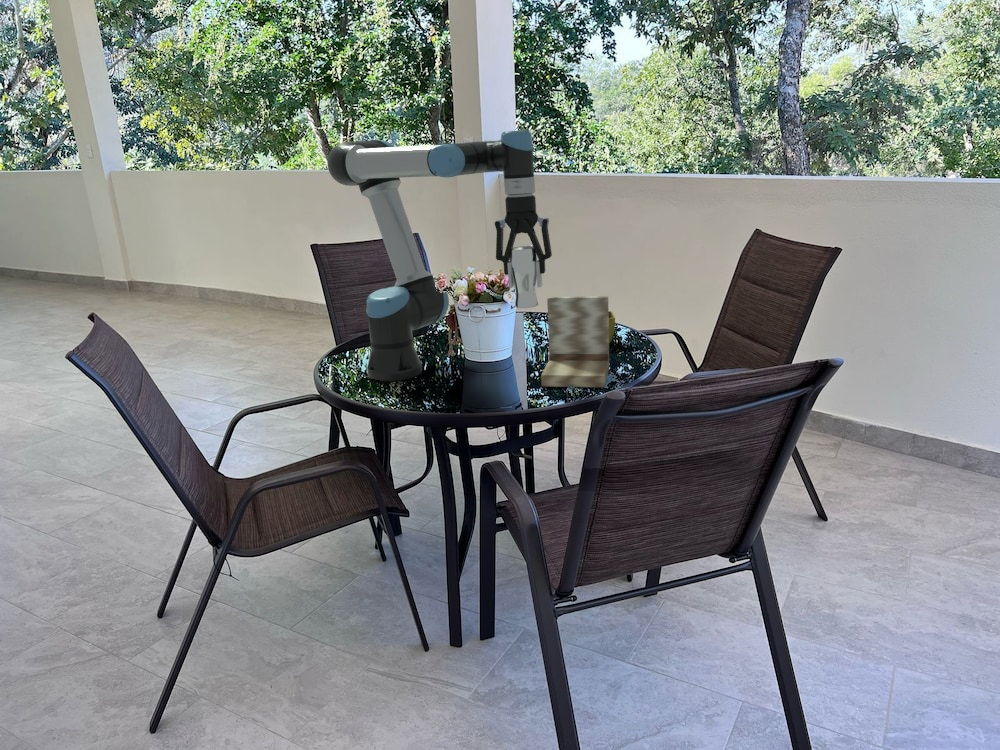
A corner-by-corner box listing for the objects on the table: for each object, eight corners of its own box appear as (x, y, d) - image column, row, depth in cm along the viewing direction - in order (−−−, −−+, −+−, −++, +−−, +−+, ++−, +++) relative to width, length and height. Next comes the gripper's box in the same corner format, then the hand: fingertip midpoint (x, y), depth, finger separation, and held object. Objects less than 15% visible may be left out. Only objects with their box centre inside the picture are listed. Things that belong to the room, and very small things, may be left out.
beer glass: (521, 302, 203) (517, 245, 198) (544, 303, 199) (541, 245, 195) (508, 307, 197) (503, 249, 193) (531, 309, 193) (527, 249, 189)
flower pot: (615, 347, 227) (615, 317, 224) (586, 348, 227) (585, 318, 224) (612, 339, 235) (611, 310, 232) (583, 340, 235) (583, 312, 233)
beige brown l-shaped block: (541, 386, 195) (538, 310, 189) (550, 368, 210) (548, 296, 204) (604, 387, 192) (603, 309, 186) (609, 368, 206) (608, 296, 200)
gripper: (478, 198, 189) (485, 290, 195) (556, 194, 184) (561, 288, 191) (485, 196, 196) (492, 284, 202) (561, 192, 191) (565, 282, 198)
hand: (525, 286), depth 196 cm, fingers closed on beer glass, 7 cm apart
